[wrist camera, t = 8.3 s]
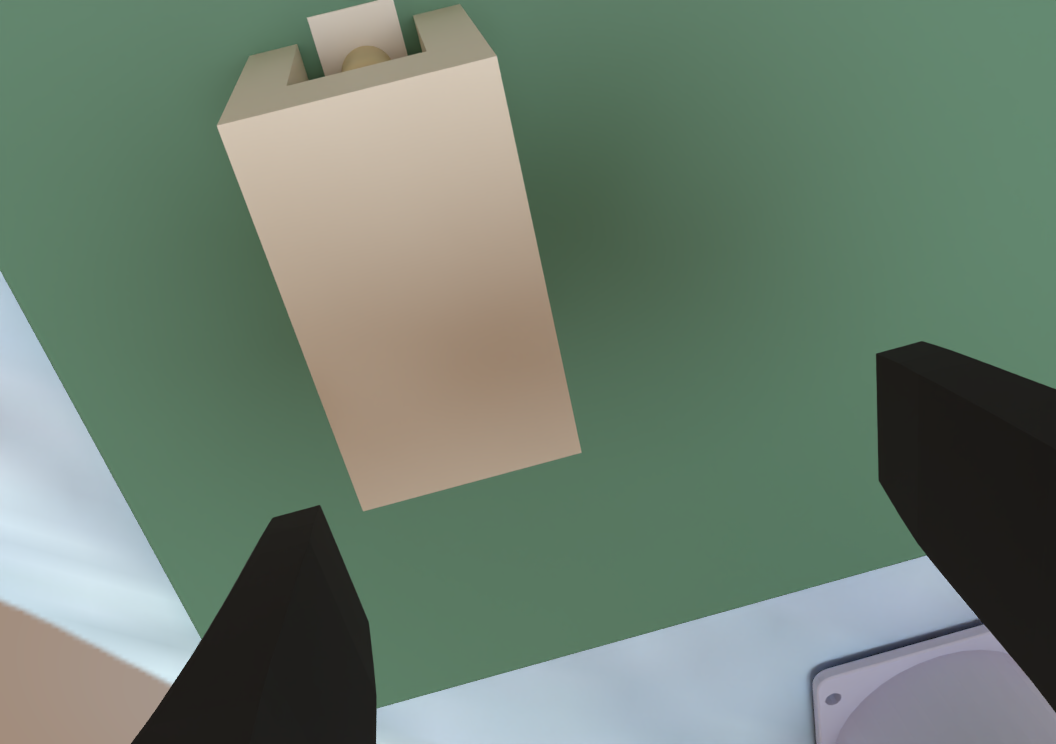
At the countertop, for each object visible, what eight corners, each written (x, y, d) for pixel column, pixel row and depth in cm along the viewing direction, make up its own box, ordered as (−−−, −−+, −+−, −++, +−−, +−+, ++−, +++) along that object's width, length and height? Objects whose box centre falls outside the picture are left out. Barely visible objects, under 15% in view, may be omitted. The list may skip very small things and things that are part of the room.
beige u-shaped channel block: (533, 328, 21) (581, 452, 17) (359, 373, 21) (362, 511, 16) (459, 4, 17) (497, 56, 13) (249, 55, 17) (216, 125, 13)
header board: (1062, 500, 27) (1137, 569, 25) (259, 724, 26) (249, 819, 24) (1164, -338, 17) (1309, -370, 15) (-143, -26, 16) (-236, -1, 14)
